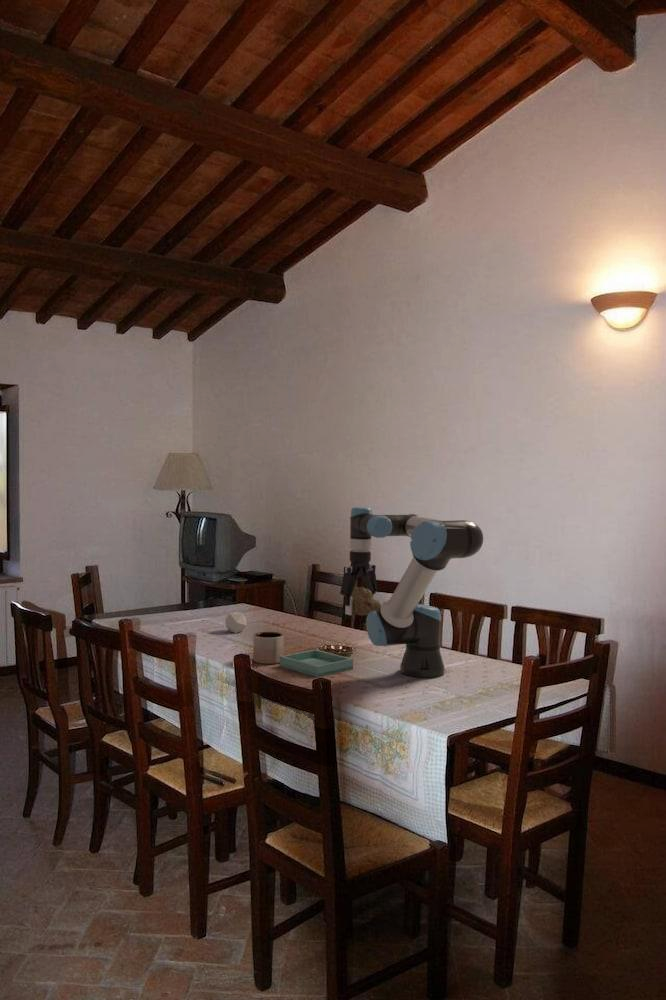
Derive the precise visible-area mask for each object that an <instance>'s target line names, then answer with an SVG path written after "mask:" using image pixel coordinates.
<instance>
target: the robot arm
mask: <svg viewBox="0 0 666 1000" xmlns="http://www.w3.org/2000/svg"><path fill="white" fill-rule="evenodd" d="M349 517H350V518H349V520H350V526H349V533H350V534H349V536H350V538H349V549H350V551H349V562H350V565H349V566H344V567H343V577H342V582H341V588H340V592H339V594H340V595H341V596H343V597H344V606H345V605H346V607H345V612H344V613H345V615H347V616H353V615H352V602H353V597H351V594H352V591H353V589H354V587H356V583H357V581H358V580H359V578H362V582H363V583H364V588H365V589H369V590H370V591H371V592H372V597H373V598H374V595H375V594H376V593H377V592H378V582H377V576H376V575H377V574H376V568H377V567H376V565H375V564H370V562H371V559H372V557H371V556H372V555H371V554H372V553H371V550H372V537H373V538H376V539H377V538H378V539H379V538H381V539H382V538H383V539H384V538H386V537H409V538H410V539H411V541H409V545H410V549H411V550H410V551H411V555H412V559H411V561H410V562H409V564H408V566H407V568H406V569H405V571H404V574H403V575H402V577H401V578H400V580H399V582H398V584H397V586H396V587H395V589H394V591H393V594H392V595H391V597H390V599H387V600H385V601H383V602H382V604H381V607H380V609H379V610H378V611H372V612H370V613H369V614H368V615H366V619H365V622H366V623H365V624H366V625H365V626H366V633H367V636H368V638H369V640H370V642H371V643H372V644H373V645H374V646H377V647H390V646H398V645H405V650H404V654H403V657H402V659H401V662H400V665H399V670H400V671H399V672H400V673H401V674H403V675H405V676H408V675H409V676H408V677H414V678H437V677H438V678H439V677H442V676H443V675H445V671H446V670H445V667H446V666H445V665H444V661H443V658H442V654H441V653H442V652H441V628H442V627H441V625H442V616H441V615H442V614H441V610H440V609H439V608H438V607H436V606H431V605H427V604H423V603H422V604H421V603H420V601H421V599H422V598H423V596H424V594H425V593H426V591H427V589H428V588H429V586H430V584H431V583H432V581H433V579H434V577H435V576H436V574H437V572H440V571H443V570H445V568H447V565H448V564H449V562H450V560H451V559H465V558H470V557H473V556H474V555H476V554H477V553H478V552H479V551H480V550H481V548H482V546H483V542H484V533H483V531H482V529H481V528H480V527H479V524H476V523H475V522H473V521H470V520H465V519H459V520H454V519H453V520H441V519H436V518H435V519H434V518H428V517H423V516H421V515H419V514H415V513H413V514H412V513H409V514H373V510H372V508H371V507H369V506H368V507H366V506H365V507H363V506H354V507H352V508H351V510H350V516H349Z"/></svg>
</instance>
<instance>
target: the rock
mask: <svg viewBox="0 0 666 1000" xmlns="http://www.w3.org/2000/svg"><path fill="white" fill-rule="evenodd" d="M351 597H353V602H352V615H351V616H354V615H357V616H368V614H369V613H370V612H372V611H378V610H379V609H380V607H381V605H382V604H381V602H380V601H379V600H378V599H375V598H374V596H373V597H372V592H371V591H370V590H369V589H366V587H365V586H354V589H353V591H352V594H351ZM344 607H345V608H346V605H345V604H344Z"/></svg>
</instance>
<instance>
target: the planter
mask: <svg viewBox="0 0 666 1000" xmlns="http://www.w3.org/2000/svg"><path fill="white" fill-rule="evenodd" d="M284 636H285V635H284V633H281V632H277V631H261V632H260V631H259V632H255V633H254V634H253V644H252V645H253V646H252V647H253V648H252V649H253V650H252V660H253V662H254V663H257V664H260V665H277V664H280V656H285V653H284V650H285V646H284V644H285V643H284V642H285V641H284V640H285V639H284V638H285V637H284Z"/></svg>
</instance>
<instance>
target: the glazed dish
mask: <svg viewBox="0 0 666 1000" xmlns="http://www.w3.org/2000/svg"><path fill="white" fill-rule="evenodd" d="M279 667H281V668H284V669H288V670H291V671H294V672H298V673H300V674H304V675H308V676H312V677H315V678H320V677H325V676H329V675H333V674H337V673H342V672H346V670H347V671H350V669H351V670H354V658H350V657H346V656H343V655H338V654H335V653H331V652H326V651H322V650H319V649H312V650H306V651H301V652H297V653H291V654H286V655H285V654H284V656H280V663H279Z"/></svg>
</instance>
